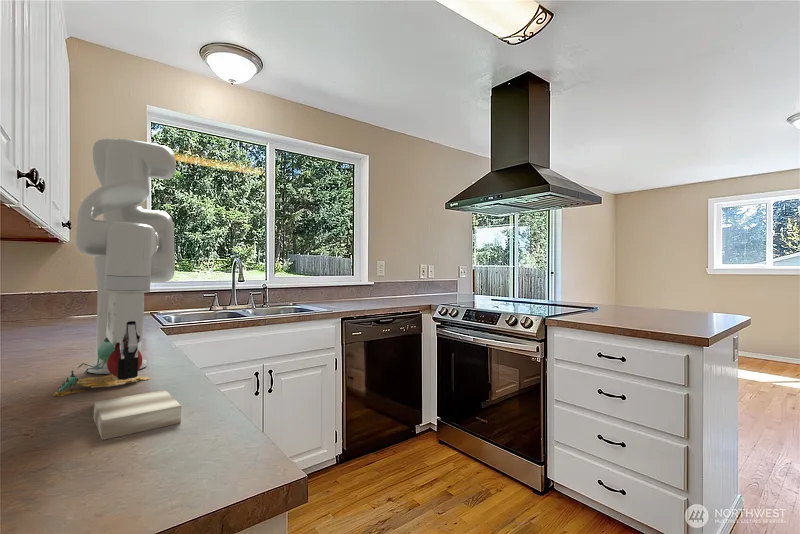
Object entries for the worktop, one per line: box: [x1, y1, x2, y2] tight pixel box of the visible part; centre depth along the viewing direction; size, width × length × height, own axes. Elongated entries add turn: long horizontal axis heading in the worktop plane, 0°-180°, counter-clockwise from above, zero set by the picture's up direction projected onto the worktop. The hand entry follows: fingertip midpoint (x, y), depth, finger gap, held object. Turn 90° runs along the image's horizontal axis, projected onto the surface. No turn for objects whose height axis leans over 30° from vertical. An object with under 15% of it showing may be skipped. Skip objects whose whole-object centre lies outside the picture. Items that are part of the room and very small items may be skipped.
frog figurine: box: [53, 338, 151, 397], centre depth 88 cm, size 10×18×15 cm, turn 137°
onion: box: [107, 340, 143, 380], centre depth 79 cm, size 6×6×8 cm
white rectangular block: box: [93, 389, 182, 441], centre depth 69 cm, size 11×11×3 cm
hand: (124, 372), depth 79 cm, fingers closed on onion, 5 cm apart
